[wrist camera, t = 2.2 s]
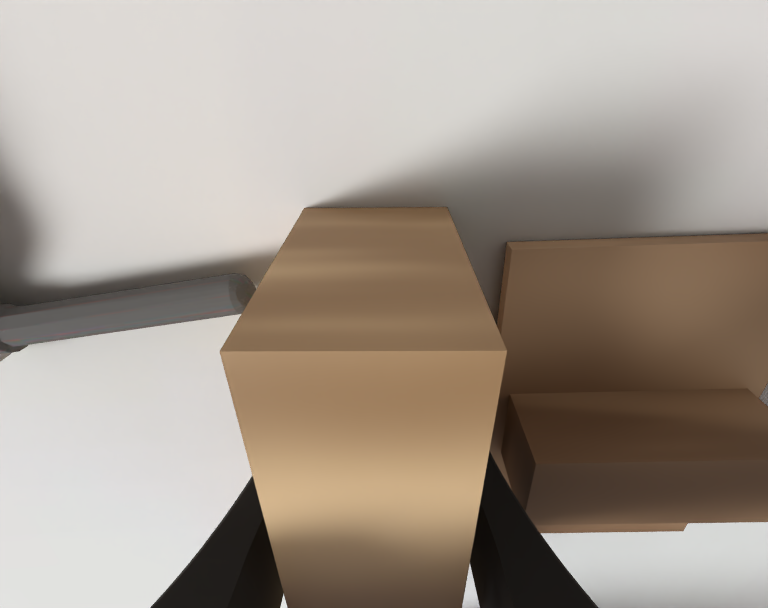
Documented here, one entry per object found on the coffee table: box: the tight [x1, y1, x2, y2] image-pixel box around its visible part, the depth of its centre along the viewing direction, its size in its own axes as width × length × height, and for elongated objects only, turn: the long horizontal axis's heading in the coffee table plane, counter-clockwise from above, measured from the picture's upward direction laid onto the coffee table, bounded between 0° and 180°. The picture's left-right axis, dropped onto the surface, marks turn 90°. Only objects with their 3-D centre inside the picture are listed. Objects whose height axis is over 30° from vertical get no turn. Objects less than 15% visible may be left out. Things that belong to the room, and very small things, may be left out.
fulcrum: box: [490, 233, 768, 533], centre depth 12 cm, size 12×8×3 cm, turn 2°
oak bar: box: [220, 207, 507, 608], centre depth 11 cm, size 14×4×6 cm, turn 1°
